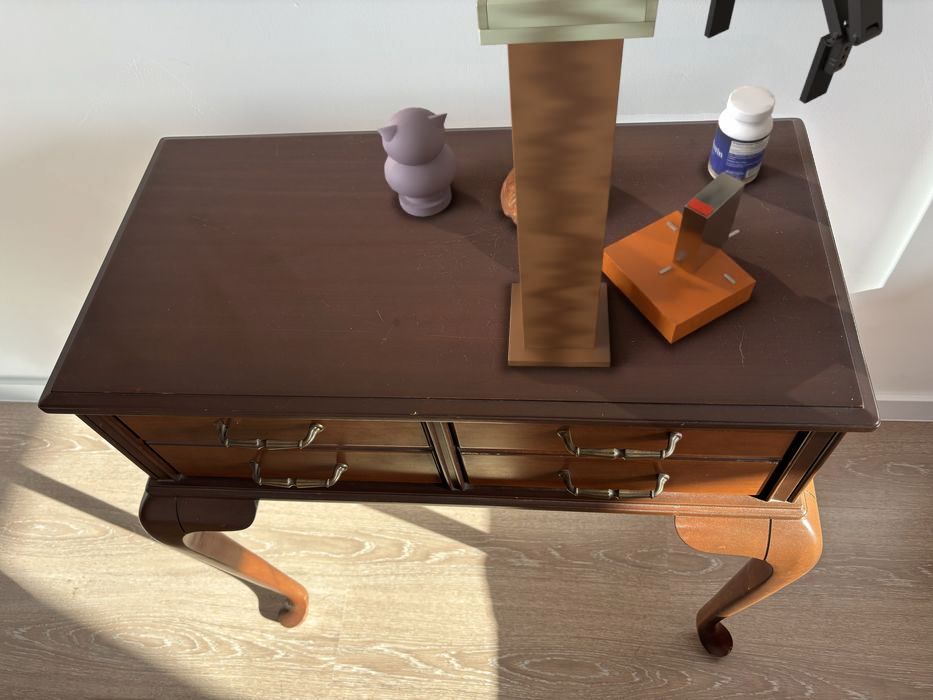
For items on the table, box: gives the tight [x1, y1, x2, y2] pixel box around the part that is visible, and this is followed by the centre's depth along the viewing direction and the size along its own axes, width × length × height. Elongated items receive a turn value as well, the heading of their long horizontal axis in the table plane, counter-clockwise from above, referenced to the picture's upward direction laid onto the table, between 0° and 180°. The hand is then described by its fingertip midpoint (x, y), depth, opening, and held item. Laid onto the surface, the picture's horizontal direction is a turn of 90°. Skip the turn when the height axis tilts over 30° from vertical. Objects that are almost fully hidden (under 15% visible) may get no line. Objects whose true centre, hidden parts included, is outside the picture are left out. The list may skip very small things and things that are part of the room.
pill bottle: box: [707, 85, 776, 185], centre depth 78 cm, size 6×6×10 cm
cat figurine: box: [376, 106, 458, 218], centre depth 80 cm, size 8×8×12 cm
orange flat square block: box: [602, 210, 757, 344], centre depth 72 cm, size 12×13×3 cm
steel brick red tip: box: [672, 172, 746, 275], centre depth 68 cm, size 6×2×8 cm, turn 134°
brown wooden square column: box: [475, 0, 659, 368], centre depth 56 cm, size 10×10×38 cm
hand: (762, 63), depth 70 cm, fingers open, 13 cm apart
